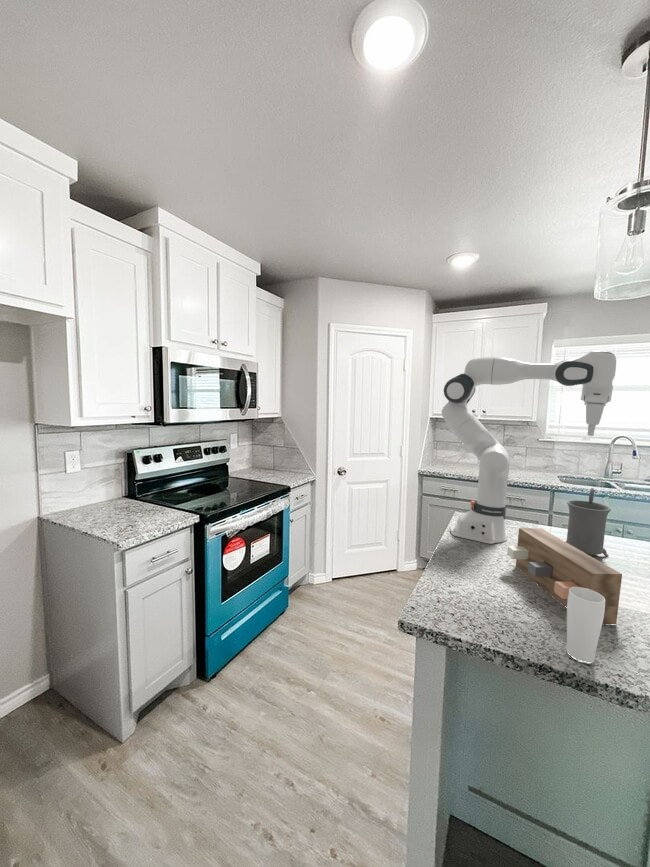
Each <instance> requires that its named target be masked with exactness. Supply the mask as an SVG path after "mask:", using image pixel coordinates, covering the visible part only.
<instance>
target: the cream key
mask: <svg viewBox="0 0 650 867" xmlns="http://www.w3.org/2000/svg"><path fill="white" fill-rule="evenodd" d="M506 555H507V556H508V557H509V558H511V559H512V560H516V559H528V556H529V550H528V549H527V548H525V547H524V546H517V545H514V546H512V545H508V546H507V550H506Z"/></svg>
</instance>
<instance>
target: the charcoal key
mask: <svg viewBox="0 0 650 867" xmlns="http://www.w3.org/2000/svg"><path fill="white" fill-rule="evenodd" d="M528 572H530V573H531V574H532V575H533V576H535V577H552V573H553V567H552V566H551V565H550V564H548V563H547V562H529V566H528Z"/></svg>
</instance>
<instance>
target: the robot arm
mask: <svg viewBox="0 0 650 867" xmlns="http://www.w3.org/2000/svg"><path fill="white" fill-rule="evenodd" d="M616 370H617V356H616V355H615V353H613V352H610V351H605V350H598V349H595V350H594V349H593V350H590V351H589V352H587V353H585V354H583V355H580V356H578V357H575V358H569V359H564V360H561V361H559V362H555V363H531V362H530V363H529V362H524V361H521V360H517V359H514V358H509V357H501V356H500V357H499V356H494V357H493V356H490V357H489V356H488V357H487V356H486V357H485V356H484V357H478V358H472V359H470V360H469V361H468V362H467V363H466V365H465V368H464V372H463V373H459V375H456V376H454V377H451V379H449V380H447V381H446V383H445V385H444V387H443V396H444V397H445V398H446V400H447V401H448V402H447V403H446V404H445V405H444V406H443V407H442V409H441V416H442V418H443V420H444V421H445V423H446V425H447V427H449V428H450V429H451V431H452V432H453V434H455V436H456V437H457V438H458V439H459V441H460V442H461V443H462V444H463V445H464V446H465V447H466V448H467V449H468V450H469V451H470V452H471V453H472V454H473V455H474V456H475V457H476V458H477V460H479V465H478V466H479V467H478V481H477V482H478V485H477V499H476V500H473V499H471V501H470V505H471V509H469V510H468V511H466V512H464V513H462V514H460V515H459V516H458V518H457V520H456V524H453V525H451V526H450V530H449V531H450V534H451V535H453V536H454V537H458V538H463V539H465V540H466V539H467V540H470V541H471V540H472V541H476V542H481V543H485V544H489V545H493V544H496V543H503V542H507V540H508V538H507V533H506V522H505V520H506V518H507V506H506V504H507V503H506V501H507V490H508V482H509V481H508V480H509V475H510V474H509V473H510V462H511V461H510V456H509V453H508V451H507V449H506V448H504V447H503V445H502V444H501V443H500V442H499V440H497V439H496V438H495V436H494V435H492V433H491V432H490V431H489V430H488V429H487V428H486V427H485V426H484V425H483V423H481V421H480V420H479V419H478V418H477V417H476V416H475V415H474V414H473V412H472V410H470V409H469V407H468V403H469V402H470V400H471V399H472V398H473V396H474V394H475V392H476V387H478V386H479V385H480V386H481V385H493V386H495V385H496V386H498V385H499V386H501V385H509V384H513V383H516V382H519V381H524V380H549V381H554V382H557V383H559V384H561V385H562V386H565V387H573V386H578V385H582V388H581V396H580V400H581V401H583V403H584V404H583V405H584V406H585V423H586V424H587V436H589V437H593V436H594V434H595V429H596V426H598V425H599V424H600V422H601V419H602V416H603V413H604V409H605V407H606V406H607V405H606V404H608V403H610V402H611V401H612V397H613V391H614V390H613V389H614V386H613V382H614V378H615V376H616Z"/></svg>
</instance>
